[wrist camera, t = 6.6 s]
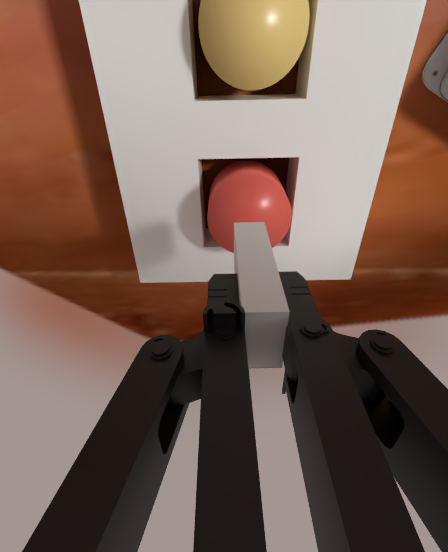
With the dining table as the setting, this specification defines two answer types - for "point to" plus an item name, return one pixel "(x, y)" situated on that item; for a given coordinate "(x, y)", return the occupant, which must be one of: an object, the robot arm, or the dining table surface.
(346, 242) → the button panel
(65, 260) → the dining table surface
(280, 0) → the ochre button
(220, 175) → the red button
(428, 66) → the emergency button
